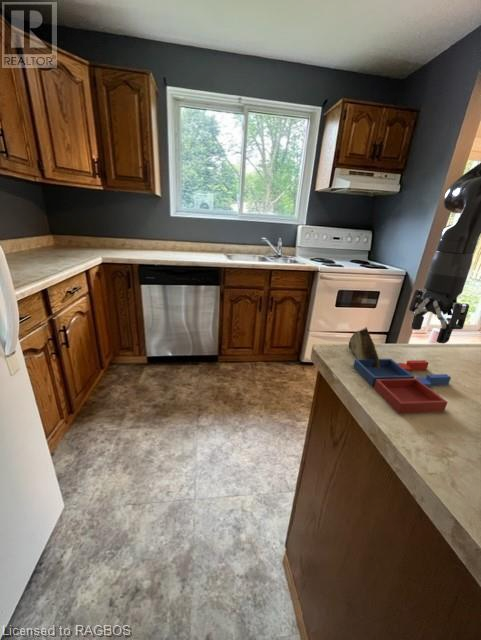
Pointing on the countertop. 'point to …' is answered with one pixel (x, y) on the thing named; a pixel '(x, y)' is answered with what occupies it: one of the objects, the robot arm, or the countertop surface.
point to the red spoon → (414, 365)
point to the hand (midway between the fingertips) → (427, 335)
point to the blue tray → (380, 370)
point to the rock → (364, 346)
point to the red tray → (409, 395)
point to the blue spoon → (435, 379)
